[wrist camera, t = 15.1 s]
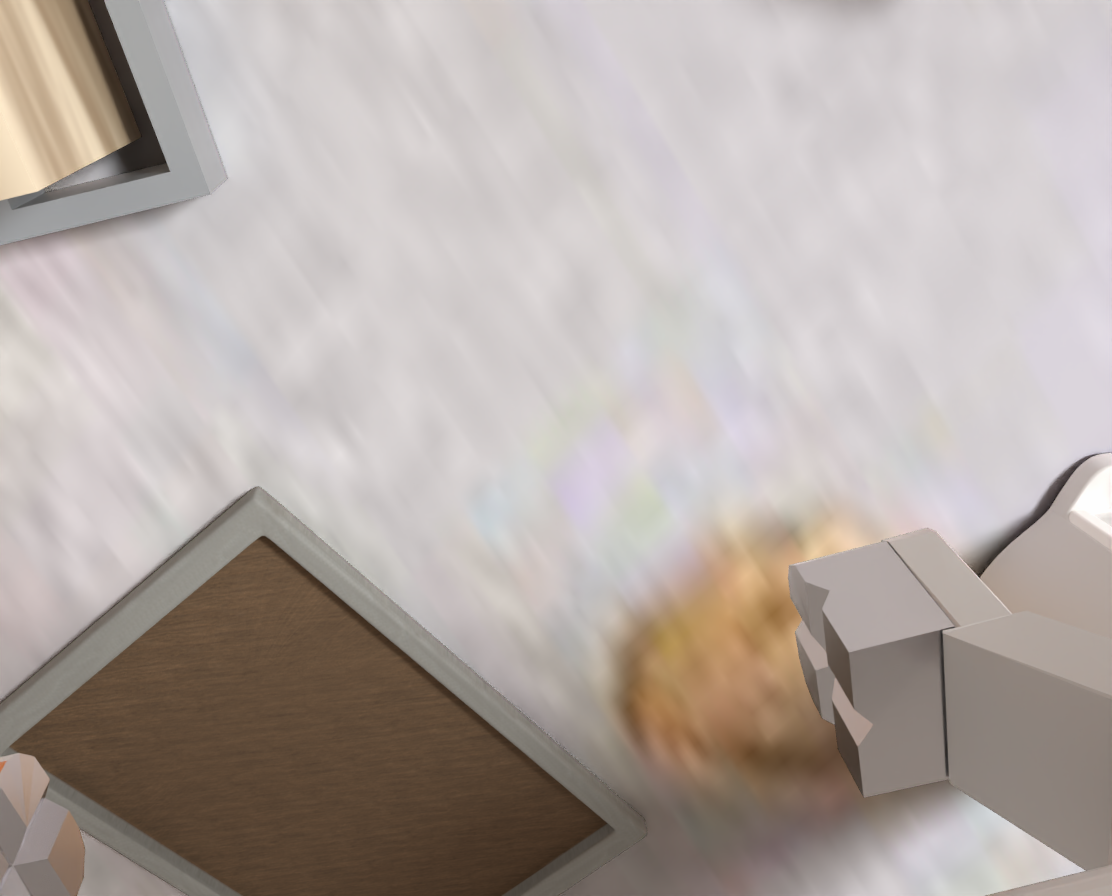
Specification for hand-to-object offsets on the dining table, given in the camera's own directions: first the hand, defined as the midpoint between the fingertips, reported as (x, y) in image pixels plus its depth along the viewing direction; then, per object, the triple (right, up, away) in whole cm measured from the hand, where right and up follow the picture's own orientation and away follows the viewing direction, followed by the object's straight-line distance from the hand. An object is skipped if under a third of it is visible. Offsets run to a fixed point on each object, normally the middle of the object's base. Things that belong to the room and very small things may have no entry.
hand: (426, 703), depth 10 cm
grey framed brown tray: (-9, -14, +39) cm, 43 cm away
